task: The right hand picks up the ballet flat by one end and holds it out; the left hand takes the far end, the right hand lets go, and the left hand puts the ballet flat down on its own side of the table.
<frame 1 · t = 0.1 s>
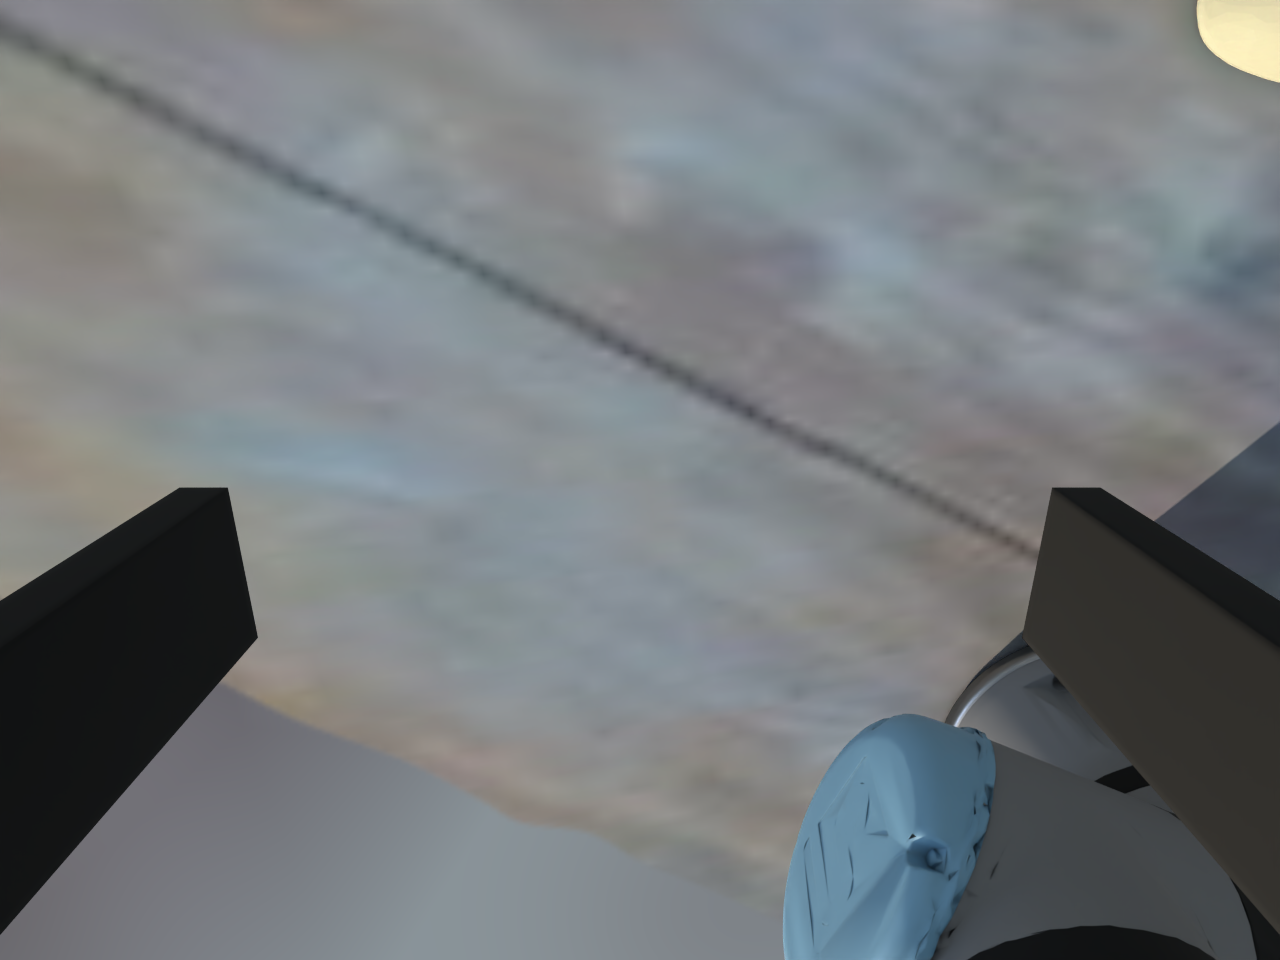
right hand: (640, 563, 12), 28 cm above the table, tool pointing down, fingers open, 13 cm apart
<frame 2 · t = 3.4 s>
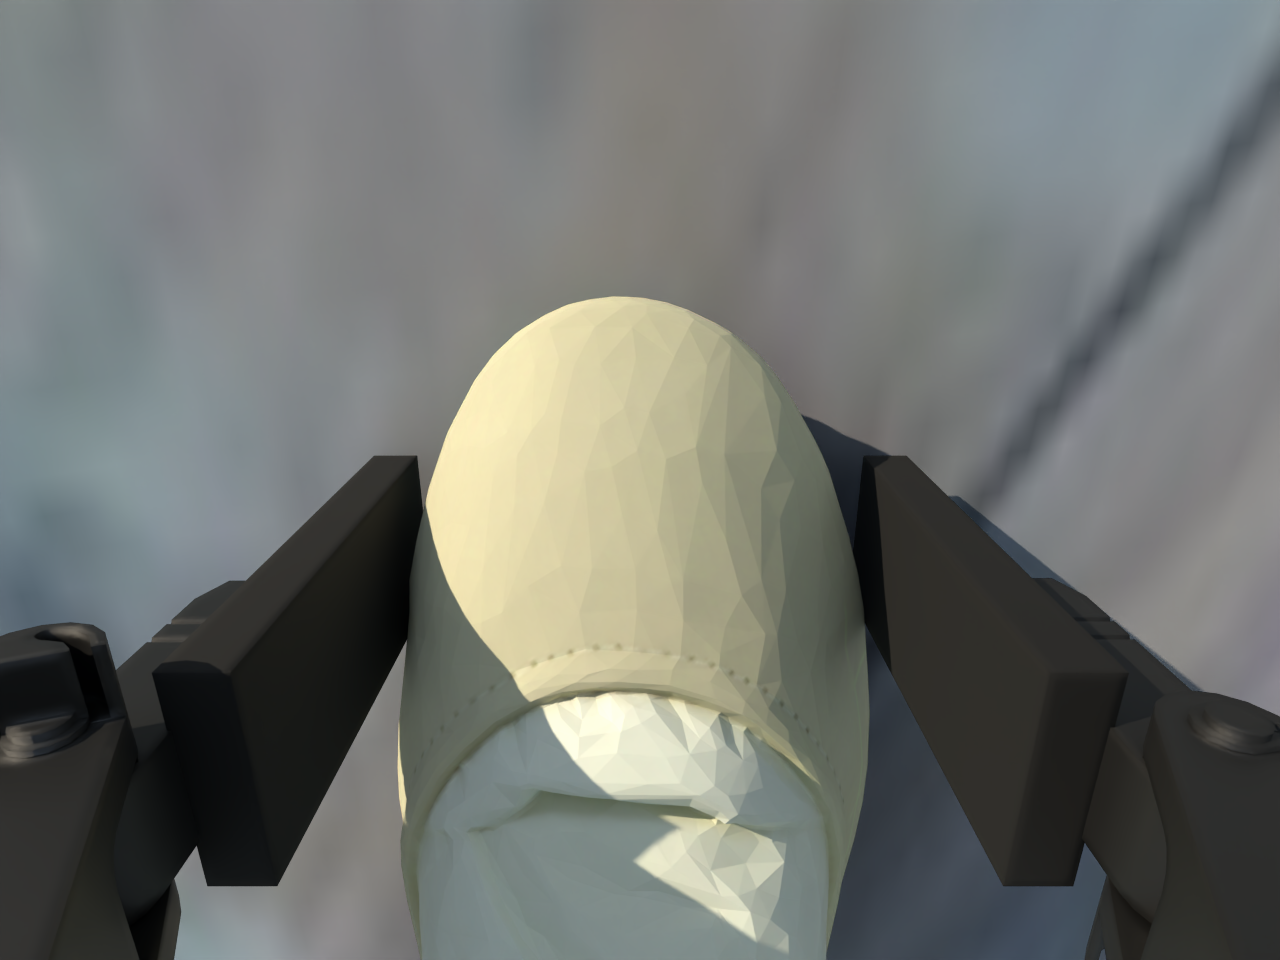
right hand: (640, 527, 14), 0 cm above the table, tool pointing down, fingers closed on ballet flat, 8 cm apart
ballet flat: (639, 852, 17), on the table, touching right hand
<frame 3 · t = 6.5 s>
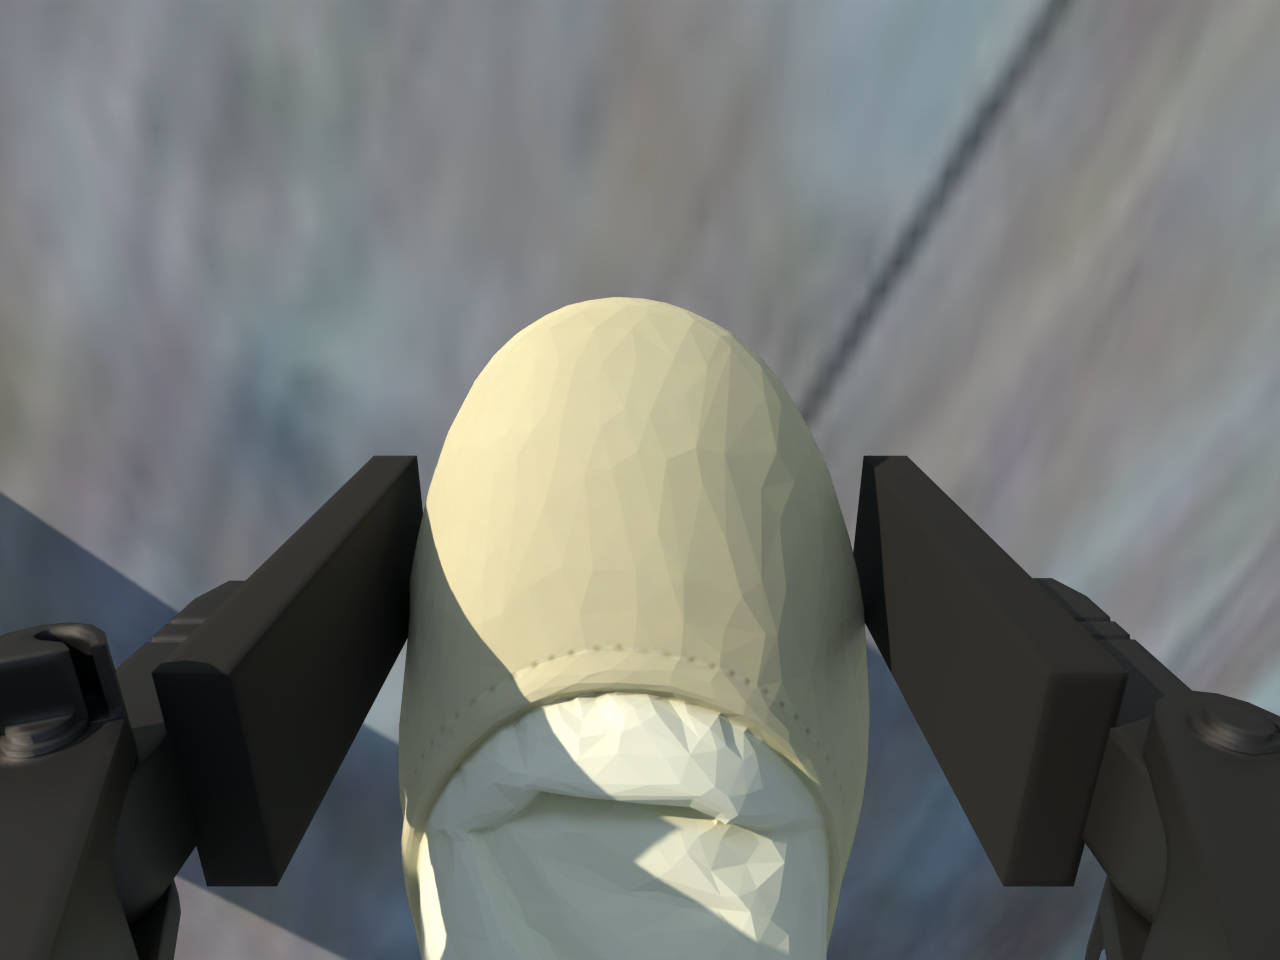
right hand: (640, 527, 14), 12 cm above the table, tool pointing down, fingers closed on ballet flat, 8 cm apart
ballet flat: (639, 852, 17), point 11 cm above the table, touching right hand
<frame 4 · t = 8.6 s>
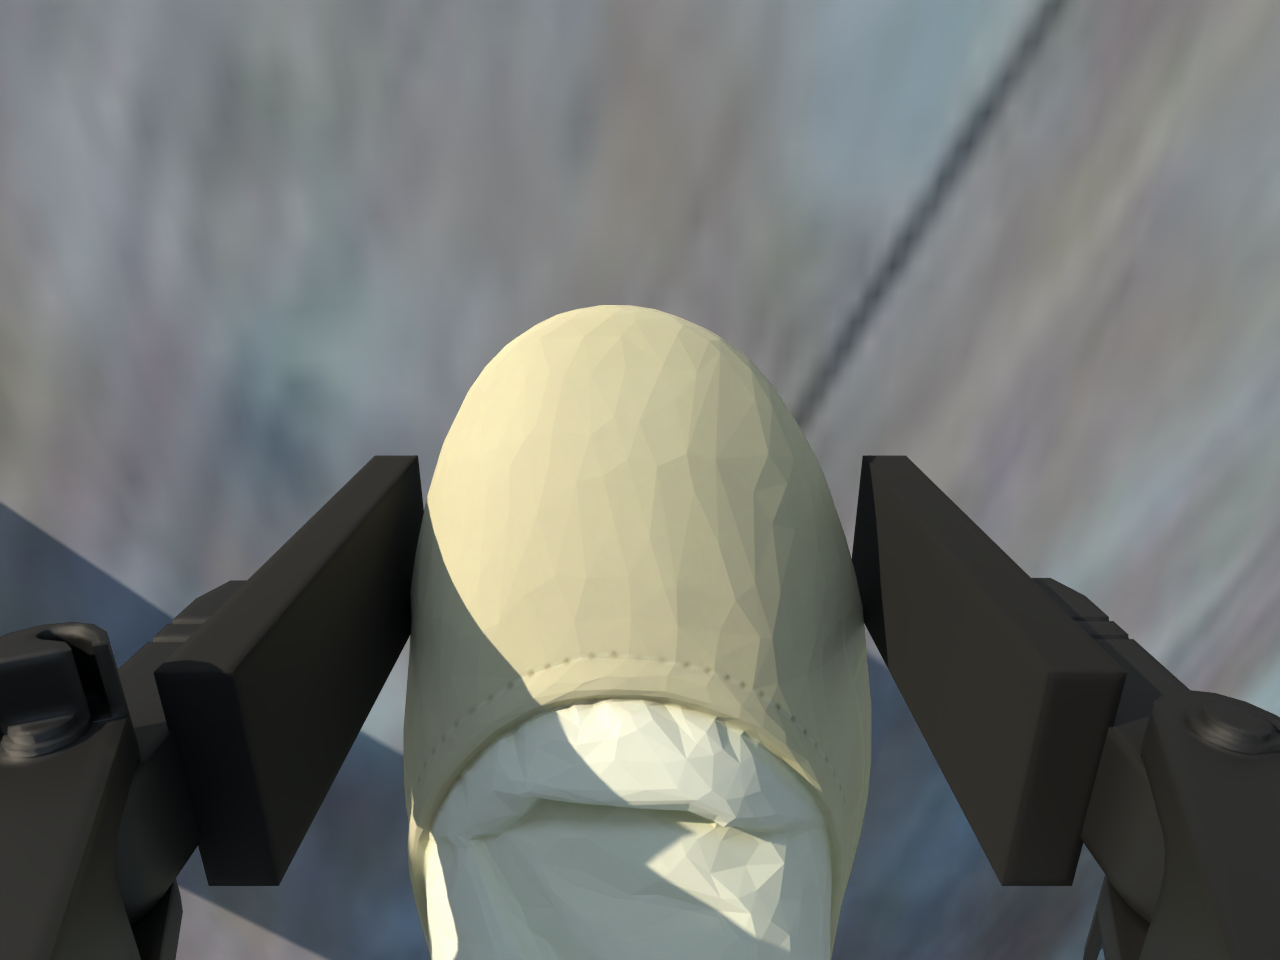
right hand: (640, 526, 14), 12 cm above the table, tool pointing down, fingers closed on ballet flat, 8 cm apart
ballet flat: (649, 851, 17), point 11 cm above the table, touching right hand, left hand
when the right hand's fingers open (12 cm above the table, at t = 9.4 s): ballet flat stays where it is, held by the left hand.
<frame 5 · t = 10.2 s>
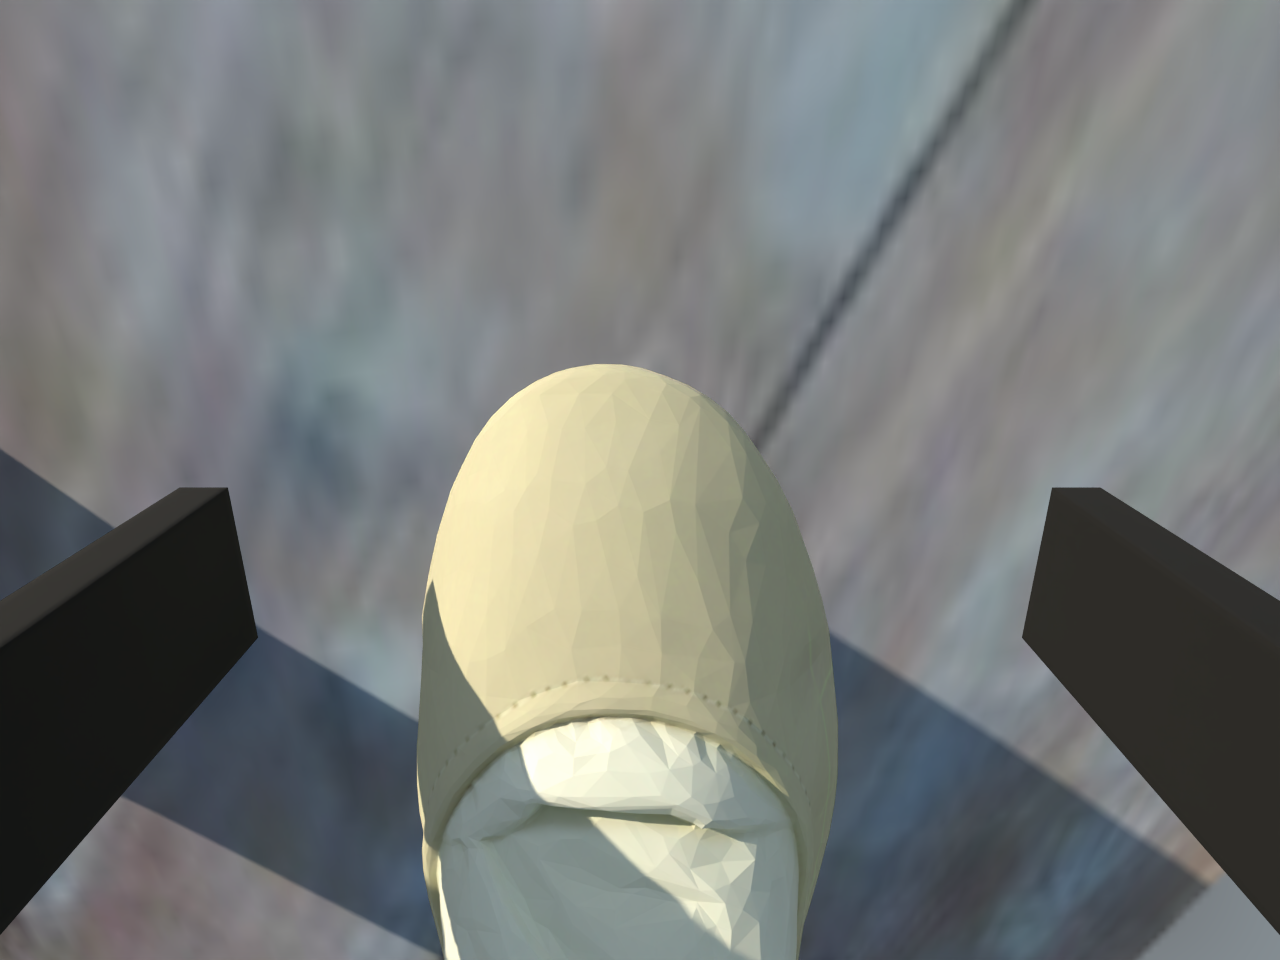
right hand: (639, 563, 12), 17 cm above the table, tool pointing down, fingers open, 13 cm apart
ballet flat: (638, 850, 19), point 14 cm above the table, touching left hand
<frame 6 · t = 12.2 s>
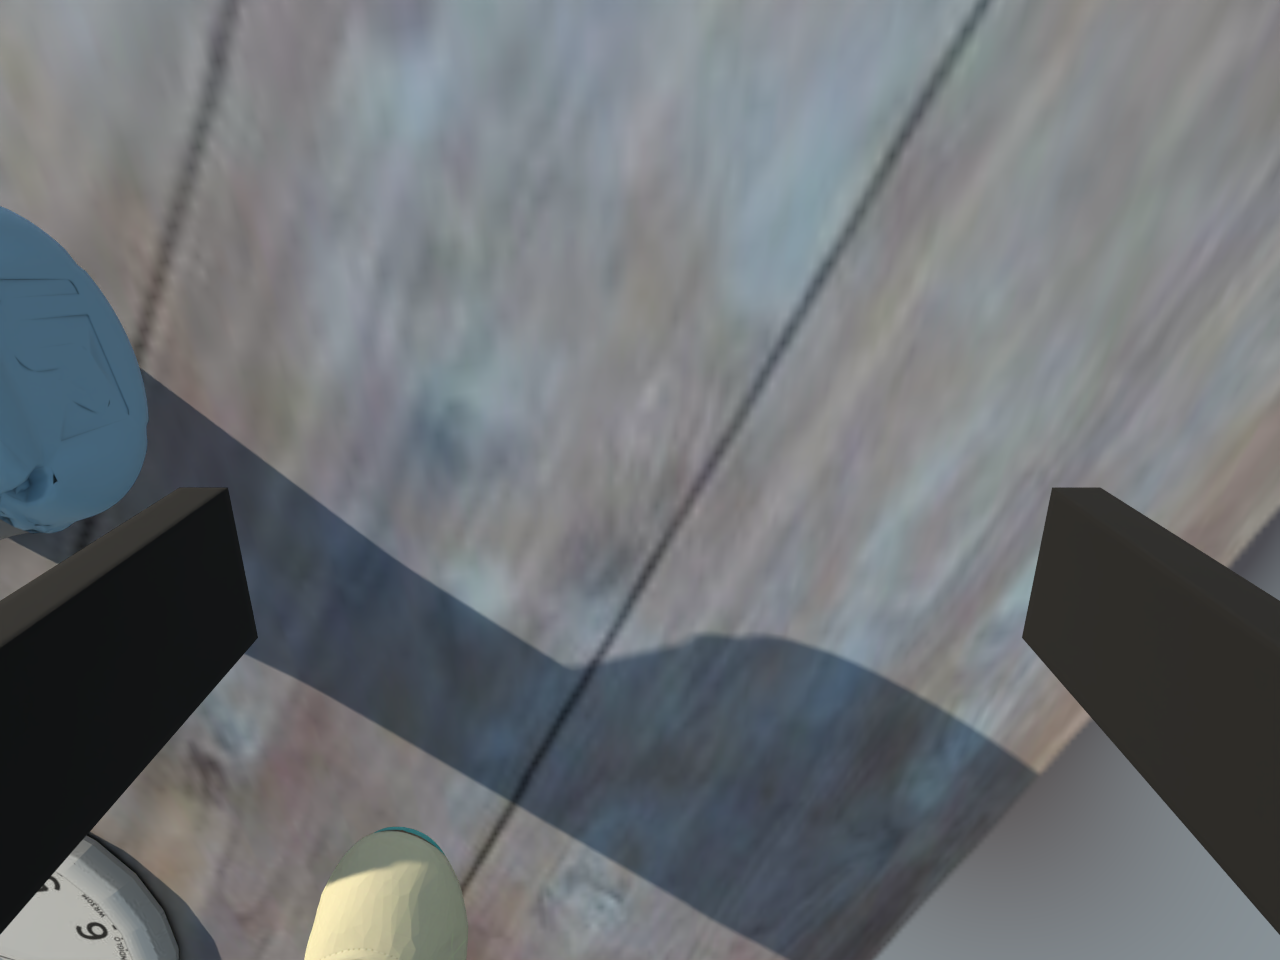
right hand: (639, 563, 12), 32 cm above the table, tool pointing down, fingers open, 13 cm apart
when the left hand's fingers open (2 cm above the table, at t = 13.8 s): ballet flat drops 1 cm, on the table.
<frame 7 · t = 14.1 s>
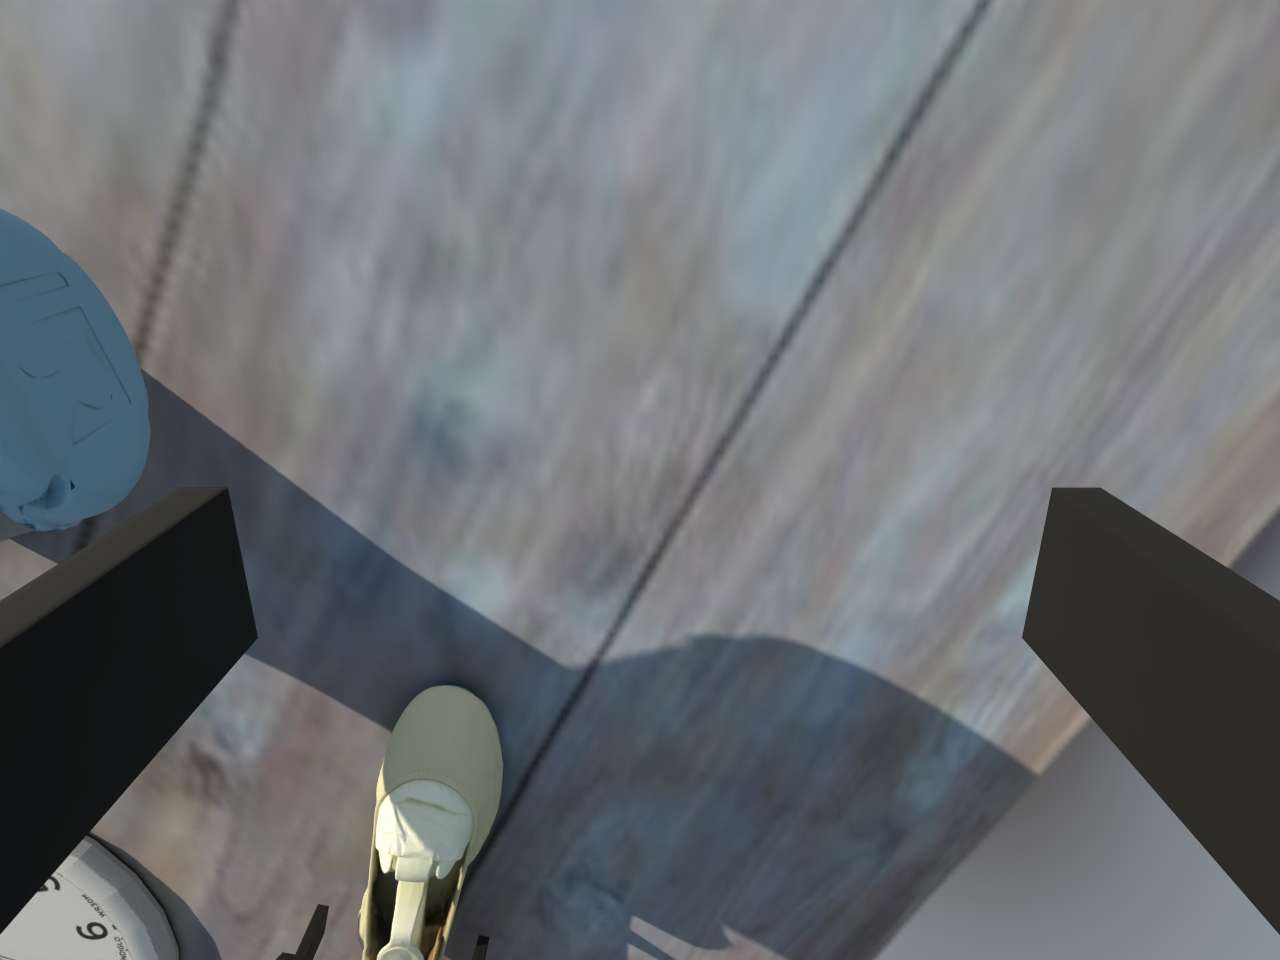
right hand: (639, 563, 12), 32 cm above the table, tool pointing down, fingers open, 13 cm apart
ballet flat: (437, 816, 55), on the table
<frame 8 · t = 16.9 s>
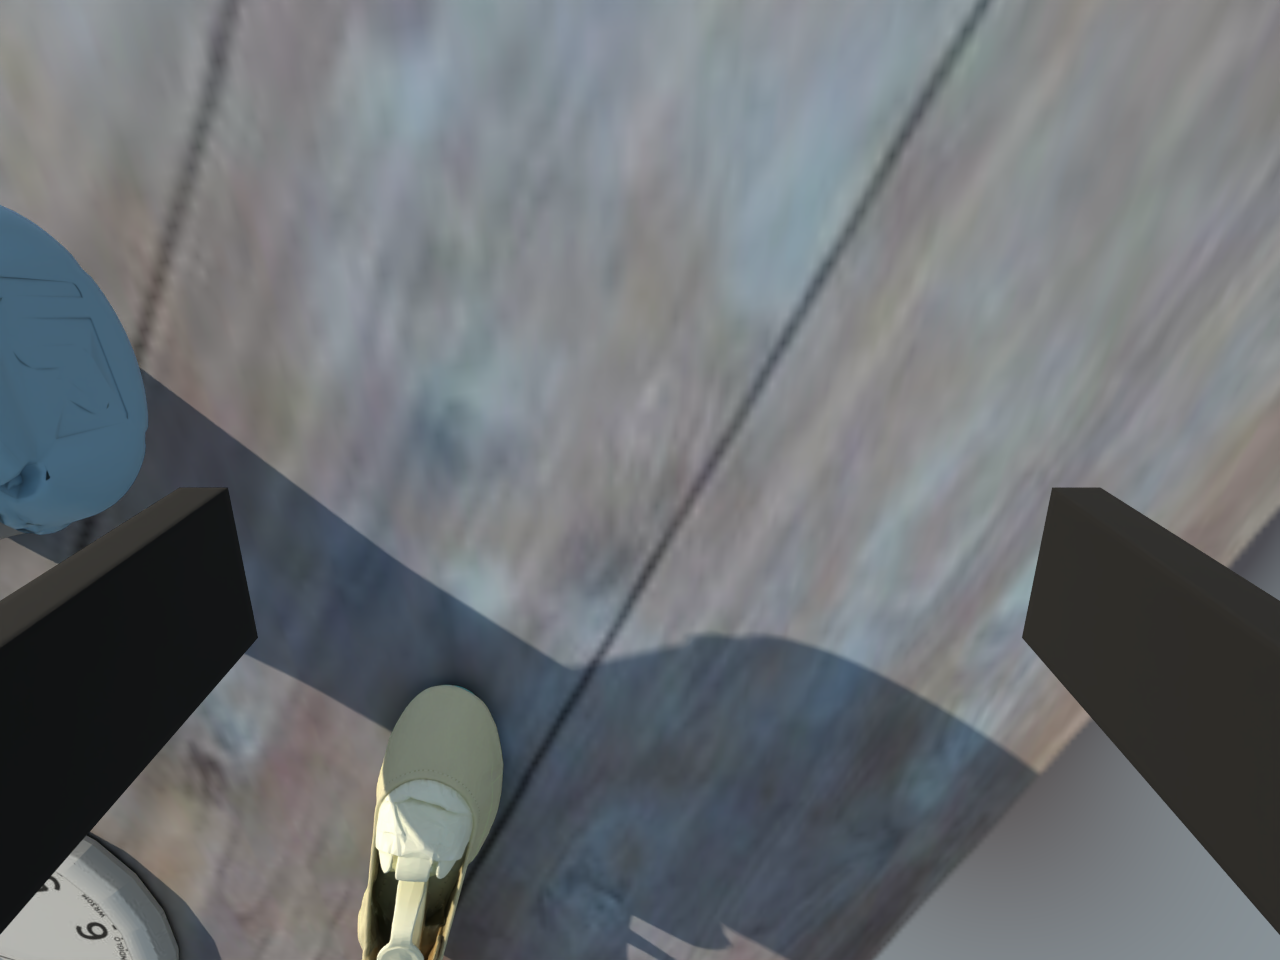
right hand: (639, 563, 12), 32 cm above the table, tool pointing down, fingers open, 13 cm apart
ballet flat: (437, 816, 55), on the table
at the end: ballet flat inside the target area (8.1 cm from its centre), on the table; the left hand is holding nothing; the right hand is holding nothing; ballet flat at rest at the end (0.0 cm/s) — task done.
